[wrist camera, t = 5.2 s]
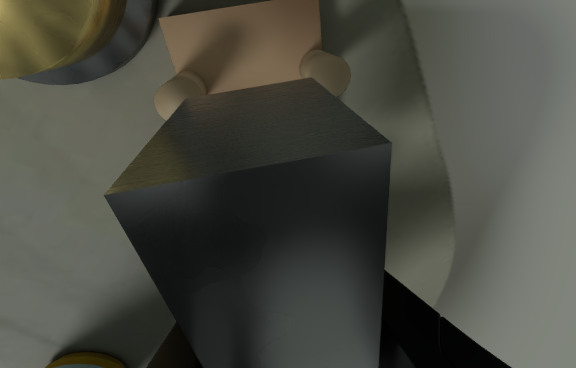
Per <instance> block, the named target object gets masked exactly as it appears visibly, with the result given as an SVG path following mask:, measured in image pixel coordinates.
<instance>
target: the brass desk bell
mask: <svg viewBox="0 0 576 368" xmlns="http://www.w3.org/2000/svg"><path fill="white" fill-rule="evenodd" d="M157 7H158V0H127V4H126V9H125V13H124V16H123V19H122V22H121V24H120V26H119V28H118V30H117V32H116V34H115V35H114V37H113V38H112V39H111V41H110V42H109V43H108V44H107V45H106V46H105V47H104V48H103V49H102V50H101V51H100V52H98V53H97V54H95V55H94V56H92V57H91V58H89V59H87V60H84V61H82V62H79V63H76V64H72V65H68V66H64V67H60V68H56V69H51V70H47V71H43V72H39V73H35V74H30V75H26V76H22V77H18V78H19V79H23V80H26V81H30V82H36V83H42V84H51V85H69V84H79V83H83V82H87V81H91V80H95V79H97V78H100V77H103V76H105V75H107V74H110V73H112V72H115V71H116V70H118V69H119V68H121V67H123V66H124V65H126V64H127V63H128V62H129V61H130V60H131V59H132V58H134V57H135V55H136V54H137V53H138V52H139V50H140V49H141V48H142V47H143V45H144V43H145V41H146V40H147V38H148V36H149V34H150V32H151V29H152V26H153V24H154V21H155V16H156V12H157Z"/></svg>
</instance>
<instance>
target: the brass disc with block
mask: <svg viewBox="0 0 576 368" xmlns="http://www.w3.org/2000/svg"><path fill="white" fill-rule="evenodd" d="M126 4H127V0H0V79H8V78H18V77H22V76H26V75H30V74H35V73H39V72H43V71H47V70H51V69H56V68H60V67H64V66H68V65H72V64H76V63H79V62H82V61H84V60H87V59H89V58H91V57H92V56H94V55H95V54H97V53H98V52H100V51H101V50H102V49H103V48H104V47H105V46H106V45H107V44H108V43H109V42H110V41H111V39H112V38H113V37H114V35H115V34H116V32H117V30H118V28H119V26H120V24H121V22H122V19H123V16H124V13H125V9H126Z"/></svg>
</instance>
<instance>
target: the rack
mask: <svg viewBox="0 0 576 368" xmlns="http://www.w3.org/2000/svg"><path fill="white" fill-rule="evenodd" d="M158 19H159V22H160V25H161V28H162V31H163V35H164V38H165V41H166V44H167V47H168V50H169V53H170V56H171V59H172V62H173V65H174V68H175V71H176V74H177V75H176V76H175V77H173V78H172V79H170V80H169V81H168V82H166V83H165V84H164V85H162V86H161V87H160V88H159V89H158V90H157V92H156V94H155V97H154V103H155V107H156V110H157V111H158V113H159V114H160V116H161V117H162V118H164V119H165V120H168V119H169V117H170V116H171V115H172V114H173V113H174V111H175V110H176V109H177V108H178V107H179V106H180V104H181V103H182V102H183V101H184V100H185V99H186V98H192V97H198V96H204V95H210V94H216V93H222V92H227V91H233V90H239V89H245V88H251V87H257V86H263V85H269V84H274V83H280V82H286V81H292V80H298V79H304V78H310V77H312V78H313V79H315V80H316V81H317V82H318V83H320V84H321V85H322V86H323V87H324V88H326V89H327V90H328V91H329V92H330V93H332V94H333V95H334V96H335V97H337V96H339V95H340V94H342V93H343V92H344V91H345V90H346V88H347V87H348V85H349V82H350V77H351V73H350V68H349V66H348V64H347V62H346V61H345V60H344V59H342V58H340V57H338V56H335V55H332V54H330V53H327V52H324V51H322V39H321V24H320V9H319V0H270V1H264V2H258V3H252V4H245V5H239V6H233V7H226V8H220V9H214V10H208V11H201V12H195V13H189V14H182V15H176V16H170V17H164V18H158Z"/></svg>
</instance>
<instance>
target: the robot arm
mask: <svg viewBox="0 0 576 368" xmlns="http://www.w3.org/2000/svg"><path fill="white" fill-rule="evenodd" d="M146 368H203V366H202V364H201V363H200V361H199V359H198V357H197V356H196V354H195V352H194V350H193V349H192V347H191V345H190V344H189V342H188V340H187V338H186V337H185V335H184V333H183V331H182V330H181V328H180V326H179V325H178V323H177V322H176V323H175V325H174V327H173V328H172V330H171V331H170V333H169V334H168V336H167V337H166V339H165V340H164V342H163V343H162V345H161V346H160V348H159V349H158V351H157V352H156V354H155V355H154V357H153V358H152V360H151V361H150V363H149V364H148V366H147V367H146ZM378 368H511V367H510V366H508V365H507V364H506V363H504V362H502V361H501V360H500V359H498V358H497V357H495V356H494V355H493V354H491V353H490V352H489V351H487V350H485V349H484V348H483V347H481V346H480V345H479V344H477V343H476V342H475V341H473V340H472V339H471V338H469V337H468V336H467V335H466V334H464V333H463V332H462V331H460V330H459V329H458V328H457V327H455V326H454V325H453V324H452V323H450V322H449V321H448V320H446V319H445V318H444V317H441V318H440V314H439V313H438V312H436V311H435V310H434V309H433V308H432V307H430V306H429V305H428V304H427V303H425V302H424V301H423V300H422V299H420V298H419V297H418V296H417V295H415V294H414V293H413V292H412V291H410V290H409V289H408V288H407V287H405V286H404V285H403V284H402V283H400V282H399V281H398V280H397V279H395V278H394V277H393V276H392V275H390V274H389V273H388V272H387V271H385V270H384V281H383V298H382V315H381V332H380V349H379V365H378Z"/></svg>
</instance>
